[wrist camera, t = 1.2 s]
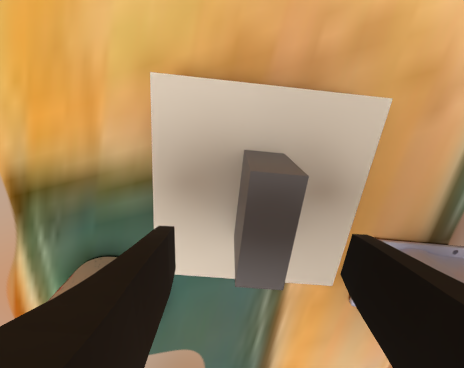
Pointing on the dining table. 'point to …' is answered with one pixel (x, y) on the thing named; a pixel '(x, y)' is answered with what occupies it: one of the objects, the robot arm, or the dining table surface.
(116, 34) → the dining table surface
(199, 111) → the cream lid
